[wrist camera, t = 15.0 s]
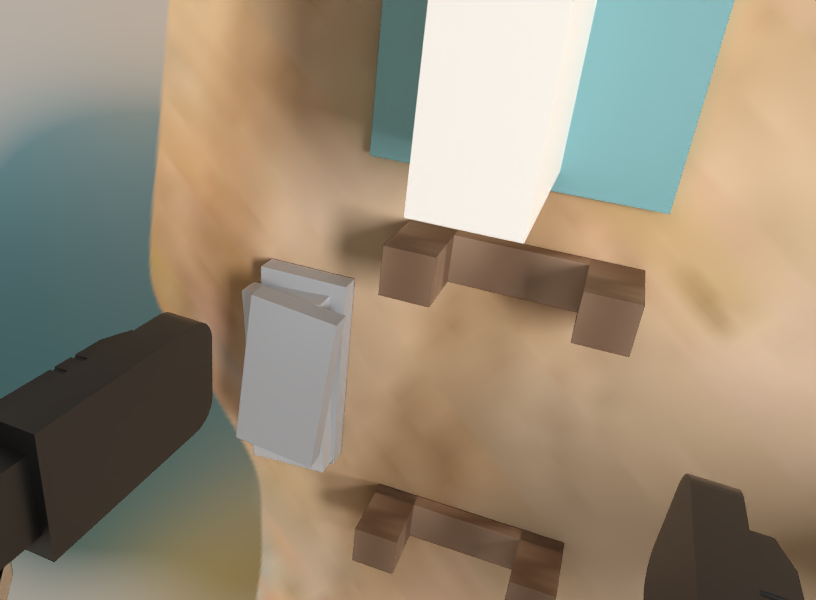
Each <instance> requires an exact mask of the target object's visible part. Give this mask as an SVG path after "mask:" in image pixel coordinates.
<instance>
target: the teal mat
mask: <svg viewBox="0 0 816 600" xmlns="http://www.w3.org/2000/svg"><path fill="white" fill-rule="evenodd" d="M733 3H734V0H597V4H596V8H595V13H594V18H593V22H592V27H591V31H590V36H589V41H588V45H587V50H586V55H585V59H584V64H583V68H582V73H581V78H580V82H579V87H578V91H577V96H576V101H575V105H574V110H573V115H572V119H571V124H570V128H569V133H568V138H567V142H566V147H565V151H564V156H563V161H562V165H561V170H560V172H559V174H558V176H557V178H556V180H555V182H554V184H553V186H552V188H551V190H550V191H554V192H559V193H564V194H569V195H575V196H580V197H585V198H590V199H595V200H600V201H605V202H610V203H615V204H620V205H626V206H631V207H636V208H641V209H646V210H651V211H656V212H661V213H666V214H670V212H671V208H672V205H673V202H674V198H675V195H676V192H677V189H678V185H679V182H680V179H681V175H682V172H683V169H684V165H685V162H686V159H687V155H688V152H689V149H690V146H691V142H692V139H693V136H694V132H695V129H696V126H697V122H698V119H699V116H700V113H701V109H702V106H703V103H704V99H705V96H706V93H707V89H708V86H709V83H710V79H711V76H712V73H713V70H714V66H715V63H716V60H717V56H718V53H719V50H720V46H721V43H722V40H723V37H724V33H725V30H726V27H727V23H728V20H729V17H730V13H731V10H732V7H733ZM427 4H428V0H383V2H382V14H381V26H380V38H379V50H378V62H377V74H376V86H375V99H374V111H373V123H372V135H371V147H370V156H375V157H380V158H386V159H391V160H396V161H401V162H406V163H410V158H411V149H412V139H413V130H414V121H415V112H416V103H417V94H418V85H419V76H420V67H421V58H422V49H423V40H424V31H425V22H426V13H427Z"/></svg>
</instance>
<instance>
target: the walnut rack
mask: <svg viewBox="0 0 816 600" xmlns="http://www.w3.org/2000/svg"><path fill="white" fill-rule="evenodd" d="M447 282H451V283H456V284H460V285H464V286H468V287H473V288H477V289H481V290H485V291H489V292H494V293H498V294H502V295H506V296H510V297H515V298H519V299H523V300H527V301H532V302H536V303H540V304H544V305H548V306H553V307H557V308H561V309H565V310H569V311H574V312H577V316H576V321H575V325H574V330H573V334H572V339H571V343H574V344H578V345H582V346H586V347H590V348H594V349H598V350H602V351H606V352H610V353H614V354H618V355H622V356H626V357H629V356H630V353H631V350H632V346H633V343H634V340H635V336H636V333H637V330H638V327H639V323H640V320H641V317H642V314H643V310H644V307H645V270H640V269H635V268H631V267H626V266H622V265H617V264H612V263H608V262H603V261H599V260H594V259H589V258H585V257H580V256H576V255H571V254H566V253H562V252H557V251H552V250H548V249H543V248H539V247H534V246H529V245H525V244H520V243H516V242H511V241H506V240H502V239H497V238H493V237H488V236H483V235H479V234H474V233H470V232H465V231H460V230H456V229H451V228H447V227H442V226H437V225H433V224H428V223H424V222H419V221H414V220H410V221H409V222H408V223H407V224H406V225H405V226H403V227H402V228H401V229H400V230H399V231H398V232H397V233H396V234H395V235H394V236H393V237H392V238H391V239H390V240H389V241H388V242H386V243H385V244H384V245H383V253H382V263H381V273H380V283H379V294H378V295H381V296H385V297H389V298H393V299H397V300H401V301H405V302H409V303H413V304H417V305H421V306H425V307H430V305H431V304H432V303H433V301H434V300H435V298H436V297H437V295H438V294H439V293H440V291H441V290H442V288H443V287H444V286H445V284H446V283H447ZM409 535H411V536H414V537H416V538H419V539H422V540H425V541H428V542H431V543H434V544H437V545H440V546H443V547H446V548H449V549H452V550H455V551H458V552H461V553H464V554H467V555H470V556H473V557H476V558H479V559H482V560H485V561H488V562H491V563H494V564H497V565H500V566H503V567H505V568H508V569H511V570H512V572H511V576H510V580H509V584H508V589H507V593H506V597H505V600H555V599H556V594H557V587H558V581H559V574H560V568H561V561H562V555H563V548H564V543H562V542H558V541H555V540H552V539H549V538H546V537H543V536H540V535H537V534H534V533H530V532H527V531H524V530H521V529H518V528H515V527H512V526H509V525H506V524H502V523H499V522H496V521H493V520H490V519H487V518H484V517H481V516H478V515H474V514H471V513H468V512H465V511H462V510H459V509H456V508H453V507H450V506H446V505H443V504H440V503H437V502H434V501H431V500H428V499H425V498H422V497H418V496H415V495H412V494H409V493H406V492H403V491H400V490H397V489H393V488H390V487H387V486H384V485H381V484H380V485H379V487H378V489H377V490H376V492H375V494H374V496H373V498H372V499H371V501H370V503H369V505H368V507H367V509H366V510H365V512H364V514H363V516H362V518H361V519H360V521H359V523H358V525H357V527H356V529H355V537H354V547H353V558H352V560H354V561H357V562H359V563H362V564H365V565H368V566H371V567H374V568H376V569H379V570H382V571H385V572H388V573H390V574H392V573H393V571H394V569H395V566H396V564H397V562H398V560H399V557H400V555H401V553H402V551H403V548H404V546H405V544H406V542H407V539H408V537H409Z"/></svg>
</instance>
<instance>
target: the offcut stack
mask: <svg viewBox="0 0 816 600" xmlns="http://www.w3.org/2000/svg"><path fill="white" fill-rule="evenodd" d="M354 281H355V279H353V278H349V277H345V276H341V275H337V274H333V273H329V272H324V271H320V270H316V269H312V268H308V267H304V266H300V265H296V264H292V263H288V262H284V261H280V260H275V259H271V260H269V261H268V262H267V263H265V264H264V265H262V266H261V283H256V282H253V283H251V284H250V285H248V286H247V287H246V288H244V289H243V290H242V301H243V314H244V328H245V341H246V350H245V359H244V368H243V377H242V387H241V396H240V405H239V414H238V423H237V432H236V437H237V438H239V439H242V440H244V441H246V442H249V443H251V444H253V450H254V455H258V456H262V457H266V458H269V459H273V460H277V461H281V462H285V463H288V464H292V465H296V466H300V467H304V468H307V469H311V470H315V471H319V472H322V473H323V472H324V470H325V469H326V467H327V466H328V464H329V463H330V464H333V463H334V462H335V461H336V459H337V458H338V456H339V455H340V453H341V444H342V432H343V419H344V407H345V394H346V381H347V369H348V356H349V344H350V331H351V318H352V306H353V293H354Z"/></svg>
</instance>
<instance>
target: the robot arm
mask: <svg viewBox="0 0 816 600" xmlns="http://www.w3.org/2000/svg"><path fill="white" fill-rule="evenodd" d="M211 404H212V333H211V330H210V328H209V326H208V325H207V324H205V323H202V322H198V321H195V320H192V319H189V318H185V317H182V316H179V315H176V314H172V313H169V312H165V313H162V314H160V315H158V316H157V317H155V318H153V319H152V320H150V321H149V322H147V323H145V324H143V325H142V326H140V327H139V328H137V329H135V330H134V331H133V330H131V331H128V332H125V333H121V334H118V335H114V336H111V337H108V338H105V339H102V340H99V341H97V342H96V343H94V344H93V345H91V346H89V347H87V348H86V349H84V350H82V351H81V352H79V353H77V354H76V356H75V358H69V359H67V360H65V361H64V362H62V363H60V364H59V365H57V366H56V367H55V369H54V370H53V371H52V370H49V371H47V372H45V373H44V374H42V375H41V376H38V377H37V378H35V379H34V380H32V381H30V382H29V383H27V384H25V385H23V386H22V387H20V388H18V389H17V390H15V391H13V392H12V393H10V394H8V395H6V396H5V397H3V398H2V399H0V600H7V598H8V594H9V589H10V585H11V581H12V576H13V569H12V563H11V561H12V560H13V559H14V558H16V556H18V555H19V554H20V553H21V552H23V551H24V550H25V549H26V550H28V551H30V552H33V553H35V554H37V555H39V556H42V557H44V558H46V559H48V560H51V561H53V562H55V561H56V560H57V559H58V558H59V557H61V556H62V555H63V554H64V553H65V552H66V551H67V550H68V549H69V548H70V547H71V546H73V545H74V544H75V543H76V542H77V541H78V540H79V539H80V538H81V537H82V536H83V535H85V533H87V532H88V531H89V530H90V529H91V528H92V527H93V526H94V525H95V524H97V523H98V522H99V521H100V520H101V519H102V518H103V517H104V516H105V515H106V514H108V513H109V512H110V511H111V510H112V509H113V508H114V507H115V506H116V505H117V504H118V503H119V502H120V501H122V500H123V499H124V498H125V497H126V496H127V495H128V494H129V493H130V492H132V491H133V489H135V488H136V487H137V486H138V485H139V484H140V483H141V482H142V481H144V479H146V478H147V477H148V476H149V475H150V474H151V473H152V472H153V471H155V470H156V469H157V468H158V467H159V466H160V465H161V464H162V463H163V462H164V461H165V460H167V459H168V458H169V457H170V456H171V455H172V454H173V453H174V452H175V451H176V450H177V449H179V448H180V447H181V446H182V445H183V444H184V443H185V442H186V441H187V440H188V439H190V438H191V437H192V436H193V435H194V434H195V433H196V432H197V431H198V430H199V429H200V427H201V426H202V425H203V423H204V422H205V420H206V418H207V416H208V414H209V411H210V408H211ZM644 600H804V597H803V593H802V589H801V584H800V580H799V576H798V572H797V570H796V569H795V568H794V566H793V565H792V563H791V562H790V560H789V559H788V557H787V556H786V555H785V553H784V552H783V550H782V549H781V547H780V546H779V544H778V543H777V542H776V540H775V539H774V538H772V537H768V536H765V535H762V534H759V533H756V532H753V531H750V530H749V525H748V519H747V513H746V507H745V502H744V496H743V493H742V491H741V490H739V489H735V488H732V487H729V486H726V485H722V484H719V483H716V482H713V481H709V480H706V479H703V478H700V477H696V476H693V475H690V474H685V475H684V476H683V478H682V479H681V481H680V483H679V486H678V488H677V490H676V493H675V495H674V498H673V500H672V503H671V505H670V508H669V510H668V513H667V515H666V518H665V520H664V523H663V525H662V528H661V530H660V532H659V535H658V537H657V540H656V542H655V545H654V547H653V550H652V553H651V556H650V560H649V564H648V568H647V572H646V578H645V585H644Z"/></svg>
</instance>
